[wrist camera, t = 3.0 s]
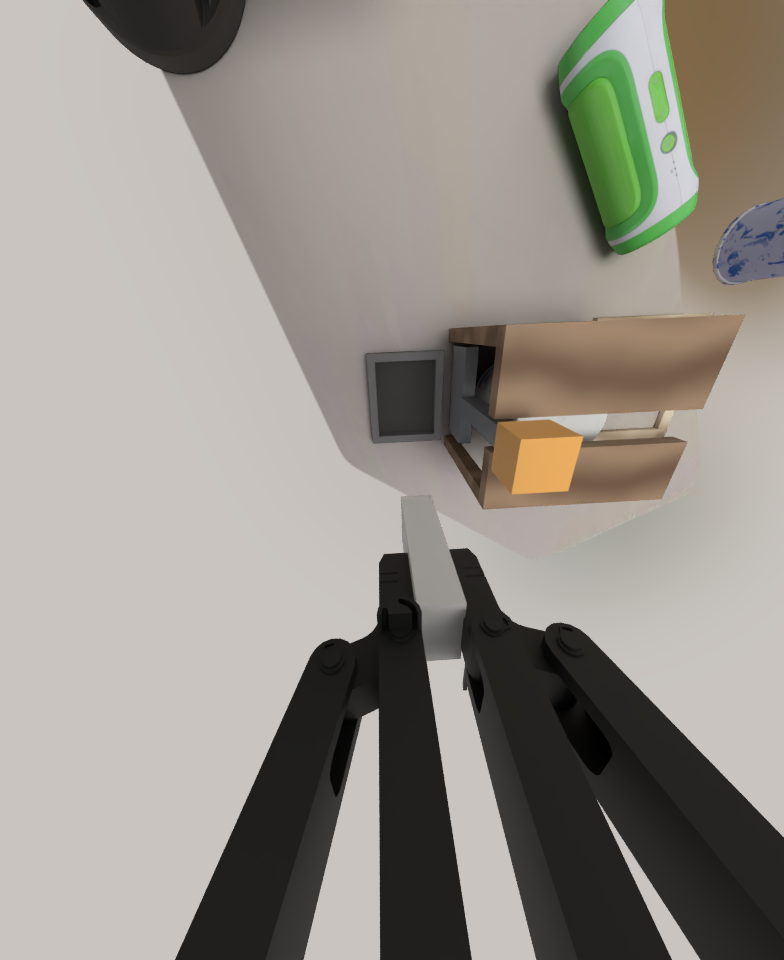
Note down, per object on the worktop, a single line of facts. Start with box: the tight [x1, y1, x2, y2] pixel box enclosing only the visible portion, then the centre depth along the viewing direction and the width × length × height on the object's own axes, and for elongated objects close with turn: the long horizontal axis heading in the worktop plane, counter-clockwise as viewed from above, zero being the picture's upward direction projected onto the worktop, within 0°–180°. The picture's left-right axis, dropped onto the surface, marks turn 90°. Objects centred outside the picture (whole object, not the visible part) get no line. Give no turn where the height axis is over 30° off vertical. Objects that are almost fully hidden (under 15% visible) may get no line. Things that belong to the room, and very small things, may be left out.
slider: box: [449, 345, 583, 494], centre depth 30 cm, size 12×4×24 cm, turn 2°
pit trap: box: [366, 350, 444, 444], centre depth 40 cm, size 12×10×2 cm
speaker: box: [558, 0, 699, 255], centre depth 28 cm, size 18×7×8 cm, turn 38°
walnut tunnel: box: [444, 315, 745, 509], centre depth 33 cm, size 16×18×18 cm
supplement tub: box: [475, 365, 608, 442], centre depth 35 cm, size 10×10×15 cm
